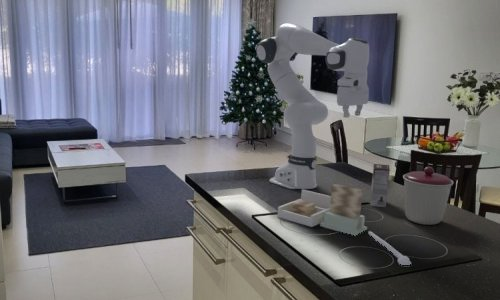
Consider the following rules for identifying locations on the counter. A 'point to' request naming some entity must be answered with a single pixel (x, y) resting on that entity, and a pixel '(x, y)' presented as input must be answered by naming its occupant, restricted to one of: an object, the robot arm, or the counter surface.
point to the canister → (426, 196)
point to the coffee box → (379, 185)
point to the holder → (343, 223)
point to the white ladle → (401, 259)
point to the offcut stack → (303, 208)
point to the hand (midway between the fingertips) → (351, 116)
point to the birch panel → (346, 202)
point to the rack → (321, 207)
